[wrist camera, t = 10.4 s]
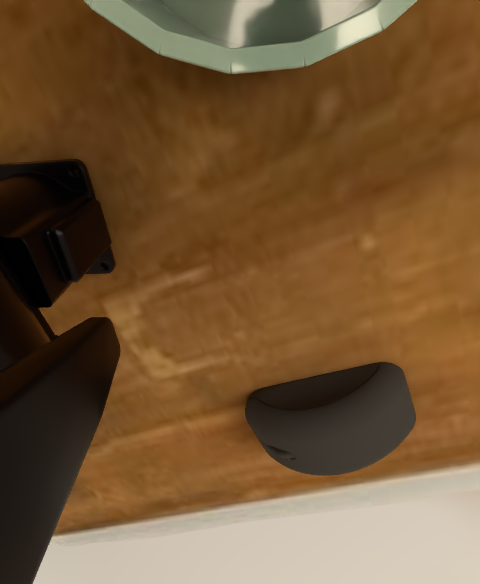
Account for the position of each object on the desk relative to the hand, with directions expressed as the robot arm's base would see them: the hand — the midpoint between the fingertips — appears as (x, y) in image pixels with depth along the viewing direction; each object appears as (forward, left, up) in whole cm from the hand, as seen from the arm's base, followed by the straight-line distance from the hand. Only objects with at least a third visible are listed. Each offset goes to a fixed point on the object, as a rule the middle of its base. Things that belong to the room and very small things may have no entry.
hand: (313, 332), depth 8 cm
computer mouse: (+2, -17, -13) cm, 21 cm away
